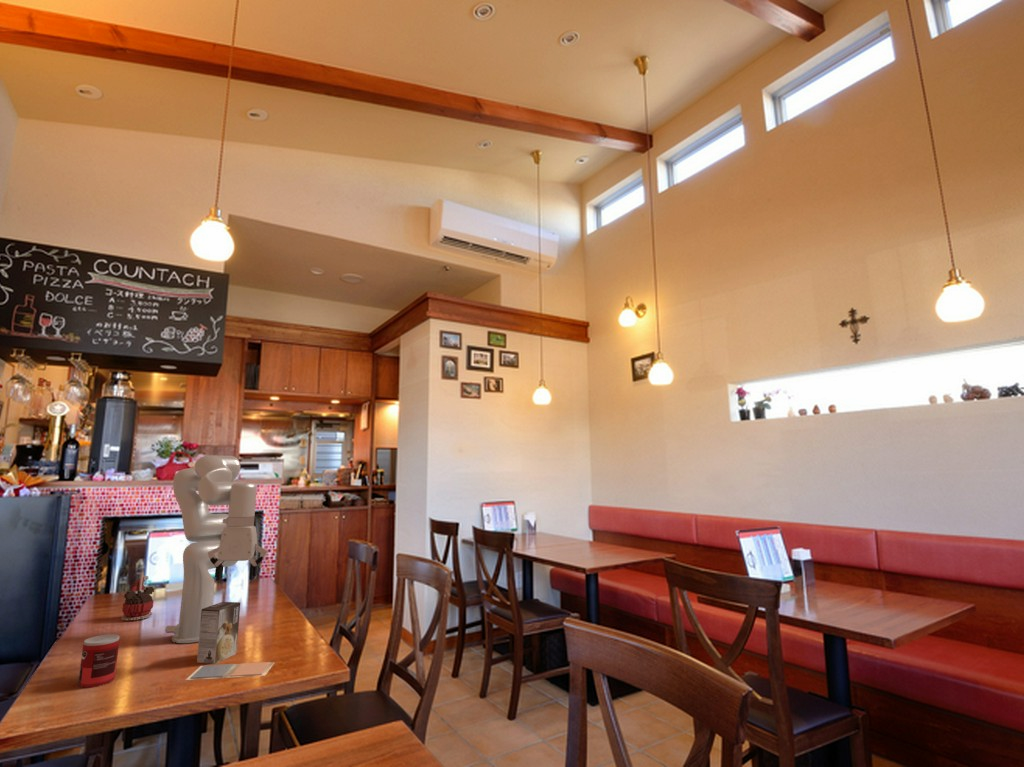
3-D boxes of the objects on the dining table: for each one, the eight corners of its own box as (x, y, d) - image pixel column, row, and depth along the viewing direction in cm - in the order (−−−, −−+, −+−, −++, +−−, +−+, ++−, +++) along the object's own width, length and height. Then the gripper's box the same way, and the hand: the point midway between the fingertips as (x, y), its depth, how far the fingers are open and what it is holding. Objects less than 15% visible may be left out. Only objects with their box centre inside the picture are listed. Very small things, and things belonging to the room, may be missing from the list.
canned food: (90, 676, 143) (96, 634, 145) (121, 676, 144) (126, 633, 145) (69, 688, 135) (76, 643, 137) (102, 687, 136) (108, 642, 138)
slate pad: (190, 678, 139) (190, 677, 139) (203, 666, 148) (203, 665, 148) (222, 677, 140) (222, 675, 140) (233, 664, 149) (234, 663, 149)
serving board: (184, 684, 138) (185, 679, 138) (200, 670, 148) (200, 666, 148) (264, 680, 142) (265, 675, 142) (274, 666, 151) (275, 662, 151)
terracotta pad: (230, 676, 141) (230, 675, 141) (241, 664, 149) (241, 663, 149) (261, 675, 142) (261, 673, 142) (270, 663, 151) (271, 661, 151)
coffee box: (218, 655, 160) (223, 600, 162) (236, 657, 158) (241, 602, 161) (195, 666, 151) (201, 608, 153) (214, 668, 149) (220, 609, 152)
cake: (131, 623, 192) (137, 572, 195) (113, 621, 195) (119, 571, 198) (158, 616, 202) (164, 567, 204) (141, 613, 205) (147, 566, 207)
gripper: (206, 524, 159) (200, 582, 156) (266, 523, 161) (261, 581, 158) (216, 521, 166) (210, 577, 163) (273, 521, 168) (268, 576, 166)
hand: (235, 579), depth 161 cm, fingers open, 9 cm apart
